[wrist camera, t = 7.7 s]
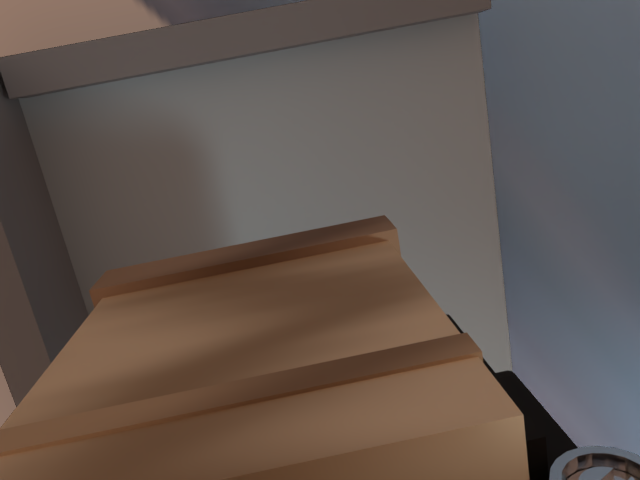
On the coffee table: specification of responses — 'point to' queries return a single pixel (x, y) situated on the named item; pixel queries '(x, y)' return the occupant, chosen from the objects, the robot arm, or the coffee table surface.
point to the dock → (246, 156)
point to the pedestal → (268, 374)
